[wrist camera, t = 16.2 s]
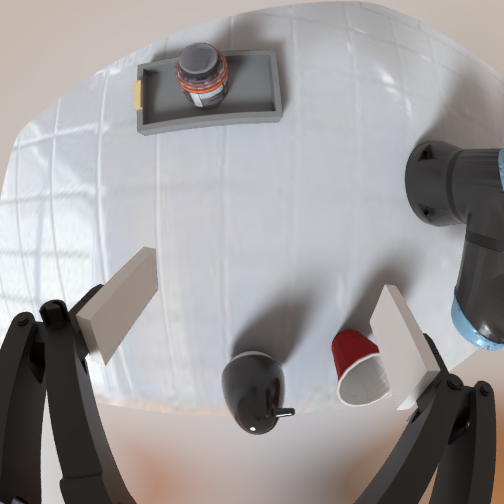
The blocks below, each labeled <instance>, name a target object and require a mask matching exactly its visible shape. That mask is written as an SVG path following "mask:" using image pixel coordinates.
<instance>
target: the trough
mask: <svg viewBox="0 0 504 504" xmlns="http://www.w3.org/2000/svg"><path fill="white" fill-rule="evenodd" d="M221 53H222V54H223V55H224V57H225V58H226V61H227V64H228V92H227V95H226V97H225V98H224V100H223V101H222V102H221V103H220V104H218V105H216V106H214V107H211V108H200V107H196V106H194V105H193V104H191V103H190V102H189V100H188V99H187V98H186V96H185V94H184V92H183V90H182V88H181V87H180V85H179V83H178V81H177V79H176V77H175V66H176V63H177V61H178V60H179V57H176V58H170V59H164V60H159V61H154V62H150V63H145V64H141V65H138V74H137V81H134V91H133V108H134V109H135V110H137V132H139V133H141V134H142V135H144V136H147V135H153V134H158V133H165V132H171V131H178V130H185V129H192V128H201V127H210V126H220V125H232V124H248V123H272V122H279V121H280V119H281V118H282V117H283V116H282V105H281V95H280V85H279V76H278V67H277V59H276V50H246V51H227V52H221Z"/></svg>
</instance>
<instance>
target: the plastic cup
mask: <svg viewBox="0 0 504 504" xmlns="http://www.w3.org/2000/svg"><path fill="white" fill-rule="evenodd" d="M332 353H333V356H334V362H335V366H336V371H337V375H338V386H337V391H336V392H337V395H338V398H339V400H340V401H341V402H343V403H344V404H346V405H348V406H356V407H358V406H364V405H369V404H371V403H374V402H376V401H378V400H380V399H382V398H383V397H384V396H385V395H387V394H388V393H389V392H391V388H390V385H389V381H388V378H387V374H386V371H385V368H384V365H383V361H382V358H381V355H380V352H379V349H378V346H377V345H376V344H374V343H373V342H372V341H370V340H369V339H368V338H366V337H364V336H363V335H361V334H360V333H359V332H357V331H355V330H345V331H343V332H341V333H339V334H338V335H337V336H336V337H335V338H334V340H333V342H332Z"/></svg>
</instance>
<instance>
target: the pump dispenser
mask: <svg viewBox="0 0 504 504" xmlns="http://www.w3.org/2000/svg"><path fill="white" fill-rule="evenodd" d="M222 389H223V394H224V398H225V402H226V404H227V407H228V409H229V411H230V413H231V415H232V416H233V418H234V419H235V421H236V422H237V424H238V425H239V426H240V427H241V428H242V429H243V430H244V431H246V432H248V433H250V434H255V435H260V434H264V433H267V432H269V431H270V430H272V429H273V428H274V427H275V425H276V424H277V422H278V420H279V418H280V417H285V416H292V415H294V414H295V410H294V408H283V405H284V399H285V378H284V373H283V370H282V368H281V366H280V365H279V363H278V362H277V361H275V360H274V359H273V358H272V357H270V356H269V355H267V354H265V353H262V352H258V351H247V352H243V353H241V354H238V355H237V356H235V357H234V358H233V359H232V360H231V361H230V362H229V363H228V365H227V366H226V367H225V369H224V370H223V373H222Z"/></svg>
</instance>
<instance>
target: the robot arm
mask: <svg viewBox="0 0 504 504" xmlns="http://www.w3.org/2000/svg"><path fill="white" fill-rule="evenodd" d="M405 186H406V193H407V197H408V200H409V203H410V205H411V207H412V209H413V211H414V213H415V214H416V215H417V216H418V217H419V218H420V219H421V220H422V221H423V222H425V223H427V224H430V225H434V226H439V227H444V226H449V225H454V224H459V223H466V224H467V226H466V235H465V242H464V248H463V254H462V260H461V265H460V271H459V275H458V280H457V284H456V286H455V289H454V300H453V304H452V309H451V316H452V320H453V324H454V326H455V327H456V329H457V331H458V332H459V333H460V334H461V335H462V336H463V337H464V338H465V339H466V340H467V341H469V342H470V343H472V344H473V345H475V346H477V347H479V348H482V349H484V348H485V347H486V348H487V349H488V350H491V351H494V350H498V349H501V348H502V347H503V346H504V148H502V149H465V150H462V149H460V148H457V147H455V146H452V145H450V144H447V143H445V142H442V141H430V142H425V143H422V144H420V145H419V146H417V147H416V148H415V150H414V151H413V152H412V154H411V156H410V158H409V160H408V163H407V167H406V174H405ZM157 290H158V279H157V263H156V249H154V248H148V247H143V248H142V249H141V250H140V251H139V252H138V253H137V254H136V255H135V256H134V257H133V258H132V259H131V260H129V261H128V262H127V263H126V264H125V265H124V266H123V267H122V268H121V269H120V270H119V271H118V272H117V273H116V274H115V275H114V276H113V277H112V278H111V279H110V280H109V281H108V282H107V283H106V284H105V285H102V284H99V285H97V286H95V287H93V288H92V289H91V290H90V291H89V292H88V293H87V294H86V296H84V297H83V298H82V299H81V300H80V301H79V302H78V303H77V304H76V305H75V306H74V307H73V308H72V309H71V310H70V311H69V312H68V311H67V308H66V304H65V303H64V302H63V301H62V300H51V301H48V302H46V303H44V304H43V305H42V306H41V308H40V311H39V312H40V315H41V317H42V320H43V322H36V321H35V318H34V316H33V314H32V313H30V312H22V313H19V314H18V315H17V316H15V317H14V319H13V320H12V322H11V325H10V327H9V329H8V332H7V334H6V336H5V339H4V341H3V344H2V346H1V349H0V504H41V468H40V466H41V465H40V464H41V458H40V457H41V434H42V422H43V412H44V404H45V397H46V390H47V395H48V404H49V412H50V419H51V425H52V430H53V435H54V441H55V445H56V450H57V454H58V458H59V462H60V466H61V470H62V474H63V478H62V479H61V480H60V489H61V493H62V496H63V499H64V502H65V504H137V503H136V502H135V500H134V499H133V497H132V496H131V495H130V493H129V492H128V490H127V488H126V486H125V484H124V481H123V479H122V477H121V475H120V472H119V470H118V468H117V465H116V463H115V460H114V457H113V455H112V452H111V450H110V447H109V444H108V441H107V438H106V435H105V432H104V429H103V426H102V423H101V419H100V416H99V413H98V409H97V406H96V402H95V398H94V394H93V390H92V385H91V381H90V376H89V371H88V366H87V362H86V360H85V357H86V356H87V354H88V353H89V354H90V357H91V359H92V361H93V362H96V363H98V364H101V365H103V366H106V365H107V363H108V361H109V360H110V358H111V357H112V355H113V354H114V352H115V351H116V349H117V348H118V346H119V345H120V343H121V342H122V340H123V339H124V337H125V336H126V334H127V333H128V331H129V330H130V329H131V327H132V326H133V324H134V323H135V321H136V320H137V318H138V317H139V316H140V314H141V313H142V311H143V310H144V308H145V307H146V306H147V304H148V303H149V301H150V300H151V299H152V297H153V296H154V294H155V293H156V292H157ZM370 325H371V328H372V331H373V334H374V337H375V340H376V343H377V346H378V349H379V352H380V355H381V358H382V361H383V365H384V368H385V371H386V374H387V378H388V381H389V385H390V388H391V392H392V396H393V399H394V402H395V406H396V410H405V409H410V408H411V407H412V406H413V404H414V403H415V402H417V405H418V408H417V409H416V410H415V411H414V413H413V414H412V415H411V416H410V417H409V418H408V419H407V420H406V421H409V420H410V421H409V423H408V425H407V427H406V428H405V430H404V432H403V434H402V436H401V437H400V439H399V441H398V442H397V444H396V446H395V447H394V449H393V451H392V452H391V454H390V455H389V457H388V458H387V460H386V461H385V463H384V464H383V466H382V467H381V469H380V470H379V472H378V473H377V474H376V476H375V477H374V479H373V480H372V481H371V483H370V484H369V485H368V487H367V488H366V489H365V490H364V492H363V493H362V494H361V496H360V497H359V498H358V499H357V500H356V502H355V503H354V504H418V503H419V501H420V499H421V497H422V496H423V494H424V492H425V490H426V488H427V486H428V484H429V482H430V480H431V478H432V476H433V474H434V472H435V470H436V468H437V466H438V470H437V474H436V479H435V483H434V487H433V491H432V494H431V498H430V501H429V504H490V503H491V497H492V490H493V482H494V474H495V461H496V413H495V400H494V392H493V389H492V387H491V386H490V384H489V383H487V382H485V381H478V382H477V383H476V384H475V386H474V387H469V386H464V385H463V382H462V380H461V379H460V378H459V377H458V376H456V375H454V374H449V372H448V370H447V368H446V366H445V364H444V362H443V360H442V358H441V356H440V354H439V352H438V350H437V349H436V346H435V344H434V342H433V340H432V339H431V338H430V337H429V336H428V335H427V334H425V333H422V331H421V329H420V327H419V326H418V324H417V322H416V320H415V318H414V316H413V314H412V313H411V311H410V309H409V307H408V306H407V304H406V302H405V300H404V299H403V297H402V295H401V293H400V292H399V290H398V288H397V287H396V286H394V285H387V284H385V285H384V288H383V290H382V293H381V295H380V298H379V300H378V303H377V305H376V308H375V310H374V312H373V315H372V317H371V319H370ZM469 422H470V423H469ZM468 423H469V427H468ZM438 464H439V465H438Z"/></svg>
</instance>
